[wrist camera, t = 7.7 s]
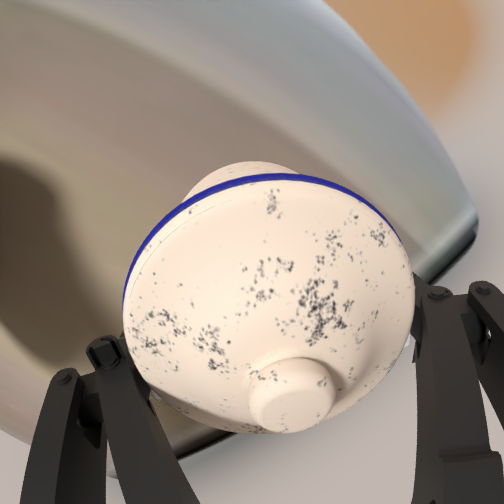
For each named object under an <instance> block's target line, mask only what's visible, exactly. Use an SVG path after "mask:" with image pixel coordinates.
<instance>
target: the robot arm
mask: <svg viewBox="0 0 504 504" xmlns="http://www.w3.org/2000/svg"><path fill="white" fill-rule="evenodd" d="M412 273H413V278H414V287H415V309H414V316H413V321H412V325H411V329H410V333H409V335H408V338H407V341H406V343H405V345H404V347H407V346H409V341H410V335H412V336H413V337H414V338H415V340H416V342H415V349H414V355H413V361H412V363H414V362H416V379H417V411H418V412H417V453H416V455H417V456H416V469H415V481H414V491H413V498H412V502H411V504H504V477H503V476H504V475H503V464H502V459H501V455H500V454H499V452H497V451H492V450H491V449H490V444H489V436H488V429H487V422H486V416H485V410H484V404H483V399H482V394H481V389H480V385H479V381H480V383H481V384H482V387H483V388H484V390H485V392H486V394H487V396H488V398H489V400H490V402H491V404H492V406H493V408H494V410H495V412H496V415H497V417H498V419H499V421H500V423H501V425H502V427H503V430H504V294H503V293H502V292H501V291H500V290H499V289H498V288H497V287H495V286H494V285H493V284H491V283H489V282H487V281H476V282H473V283H471V284H470V286H469V291H468V294H463V295H453V293H452V292H451V291H450V290H449V289H447V288H445V287H441V286H431V287H430V286H429V285H428V284H427V283H426V282H425V281H423V280H422V279H421V278H420V277H418V276H417V275H416V274H415V273H414V272H412ZM489 330H490V333H491V337H490V335H489V334H488V332H489ZM86 354H87V356H88V358H89V360H90V361H91V363H92V365H93V367H94V368H95V372H93V373H89V374H86V375H83V376H80V375H79V373H78V372H77V370H76V369H74V368H66V369H62V370H60V371H59V372H57V373H56V374H55V375H54V376H53V378H52V380H51V382H50V384H49V387H48V390H47V393H46V396H45V399H44V403H43V406H42V409H41V412H40V416H39V419H38V422H37V426H36V430H35V433H34V437H33V441H32V445H31V449H30V453H29V457H28V462H27V466H26V471H25V476H24V481H23V486H22V492H21V498H20V504H106V456H107V438H108V442H109V446H110V451H111V454H112V458H113V462H114V466H115V469H116V473H117V476H118V480H119V483H120V486H121V490H122V493H123V496H124V499H125V502H126V504H200V502H199V500H198V499H197V497H196V495H195V493H194V492H193V490H192V488H191V486H190V484H189V482H188V481H187V479H186V477H185V475H184V473H183V471H182V469H181V467H180V465H179V463H178V461H177V459H176V457H175V455H174V453H173V451H172V448H171V446H170V444H169V442H168V440H167V438H166V435H165V433H164V431H163V429H162V426H161V424H160V422H159V419H158V417H157V415H156V412H155V410H154V407H153V405H152V403H151V402H150V400H149V394H150V390H151V392H152V394H153V395H154V397H155V399H156V400H158V399H161V398H160V397H159V396H158V395H157V394H156V393H155V392H154V391H153V390H152V389H151V388H150V386H149V385H148V384H147V383H146V381H145V380H144V378H143V377H142V375H141V374H140V372H139V370H138V369H137V367H136V365H135V363H134V361H133V359H132V356H131V354H130V352H129V349H128V345H127V342H126V338H125V333H124V329H123V331H122V334H121V336H120V339H119V340H117V338H116V337H115V336H112V335H108V336H103V337H99V338H97V339H95V340H94V341H92V342H91V343H90V344H89V345H88V347H87V348H86ZM478 379H479V380H478Z"/></svg>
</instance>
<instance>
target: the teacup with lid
mask: <svg viewBox="0 0 504 504" xmlns="http://www.w3.org/2000/svg"><path fill="white" fill-rule="evenodd" d="M414 309H415V287H414V278H413V273H412V268H411V265H410V262H409V259H408V256H407V254H406V252H405V249H404V247H403V244H402V242H401V240H400V238H399V236H398V235H397V233H396V232H395V230H394V228H393V227H392V226H391V224H390V223H389V222H388V221H387V219H386V218H385V217H384V216H383V215H382V214H381V213H380V212H379V211H378V210H377V209H376V208H375V207H374V206H373V205H372V204H370V203H369V202H368V201H366V200H365V199H364V198H362V197H361V196H359V195H358V194H356V193H354V192H352V191H351V190H349V189H347V188H345V187H343V186H340V185H338V184H336V183H333V182H331V181H327V180H324V179H321V178H317V177H313V176H307V175H302V174H298V173H296V172H294V171H292V170H290V169H288V168H286V167H283V166H280V165H277V164H273V163H268V162H258V161H251V162H241V163H236V164H232V165H228V166H226V167H223V168H220V169H218V170H216V171H214V172H213V173H211V174H209V175H208V176H206V177H205V178H204V179H202V180H201V181H200V182H199V183H198V184H197V185H196V186H194V187H193V189H192V190H191V191H190V192H189V193H188V195H187V196H186V197H185V199H184V200H183V202H182V203H181V204H180V205H178V206H177V207H176V208H175V209H173V210H172V211H171V212H170V213H168V214H167V215H166V216H165V217H164V218H163V219H162V220H161V221H160V222H159V223H158V224H157V225H156V226H155V227H154V228H153V230H152V231H151V232H150V234H149V235H148V236H147V237H146V239H145V240H144V242H143V243H142V245H141V246H140V248H139V250H138V251H137V253H136V255H135V257H134V259H133V262H132V264H131V266H130V269H129V272H128V275H127V278H126V282H125V287H124V293H123V305H122V311H123V325H124V333H125V338H126V342H127V345H128V349H129V352H130V354H131V356H132V359H133V361H134V363H135V365H136V367H137V369H138V370H139V372H140V374H141V375H142V377H143V378H144V380H145V381H146V383H147V384H148V385H149V386H150V388H151V389H152V390H153V391H154V392H155V393H156V394H157V395H158V396H159V397H160V398H161V399H162V400H164V401H165V402H166V403H167V404H168V405H170V406H171V407H172V408H174V409H175V410H177V411H178V412H180V413H182V414H183V415H185V416H187V417H189V418H191V419H193V420H195V421H197V422H200V423H202V424H205V425H207V426H211V427H214V428H217V429H221V430H225V431H231V432H237V433H248V434H272V433H294V432H299V431H303V430H306V429H309V428H311V427H313V426H315V425H317V424H318V423H320V422H322V421H325V420H327V419H329V418H332V417H334V416H336V415H338V414H340V413H341V412H343V411H345V410H346V409H348V408H350V407H351V406H353V405H354V404H356V403H357V402H358V401H360V400H361V399H362V398H364V397H365V396H366V395H367V394H368V393H369V392H371V391H372V390H373V389H374V388H375V387H376V386H377V385H378V384H379V383H380V382H381V381H382V380H383V378H384V377H385V376H386V375H387V374H388V372H389V371H390V370H391V368H392V367H393V365H394V364H395V362H396V360H397V359H398V357H399V355H400V354H401V352H402V350H403V348H404V345H405V343H406V341H407V338H408V335H409V333H410V329H411V325H412V321H413V316H414Z"/></svg>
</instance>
